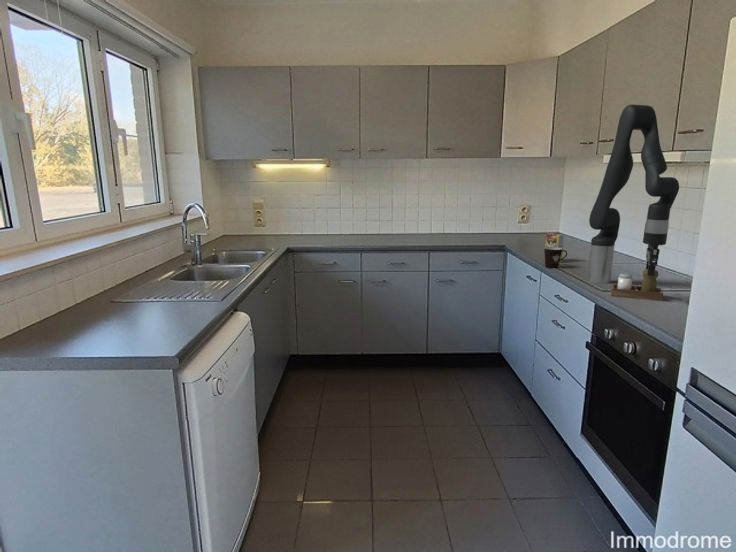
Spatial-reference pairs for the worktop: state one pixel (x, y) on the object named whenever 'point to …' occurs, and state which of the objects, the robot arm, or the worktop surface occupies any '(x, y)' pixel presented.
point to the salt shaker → (625, 281)
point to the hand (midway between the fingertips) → (649, 273)
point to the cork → (649, 281)
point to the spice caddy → (637, 293)
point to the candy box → (555, 241)
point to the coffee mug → (553, 256)
